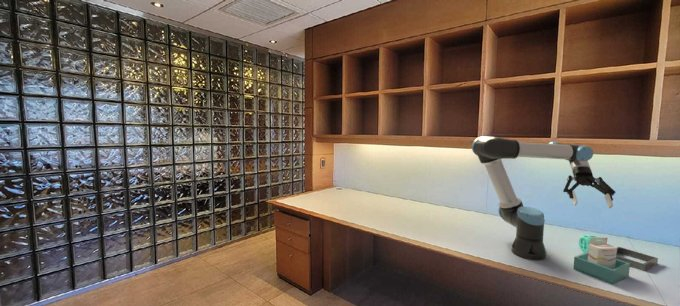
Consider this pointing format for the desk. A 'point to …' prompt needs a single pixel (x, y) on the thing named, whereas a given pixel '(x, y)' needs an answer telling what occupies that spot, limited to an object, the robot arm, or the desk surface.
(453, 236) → the desk surface
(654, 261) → the socket collar
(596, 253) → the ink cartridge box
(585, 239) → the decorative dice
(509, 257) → the desk surface
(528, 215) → the robot arm
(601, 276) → the teal bin
